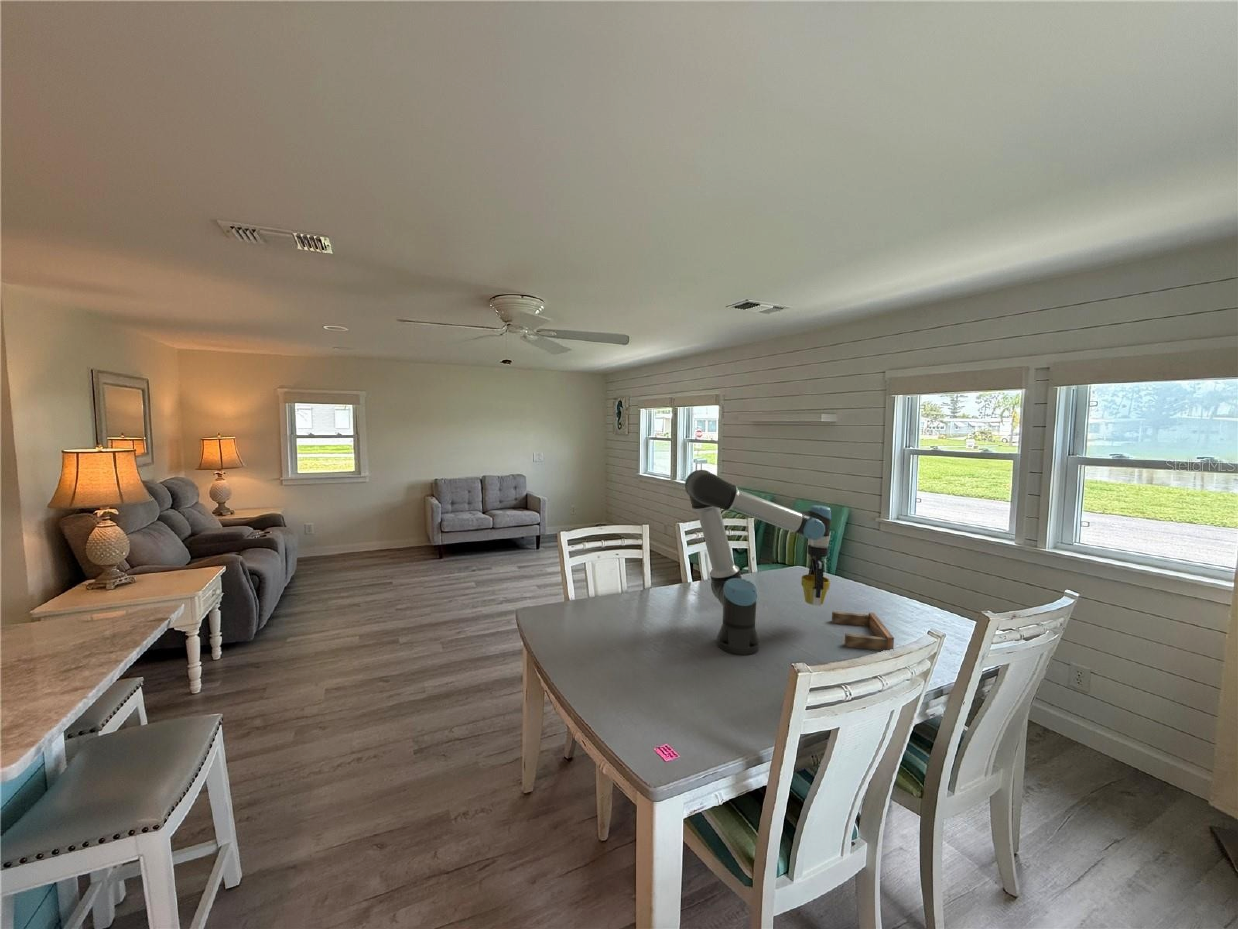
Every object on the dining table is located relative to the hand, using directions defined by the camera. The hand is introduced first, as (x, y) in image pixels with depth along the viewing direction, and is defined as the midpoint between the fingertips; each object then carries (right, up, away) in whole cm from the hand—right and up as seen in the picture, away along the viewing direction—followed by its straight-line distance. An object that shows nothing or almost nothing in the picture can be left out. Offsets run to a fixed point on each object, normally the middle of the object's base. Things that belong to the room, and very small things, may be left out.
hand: (814, 600), depth 195 cm
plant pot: (0, -1, 0) cm, 1 cm away
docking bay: (+16, -13, -3) cm, 20 cm away
